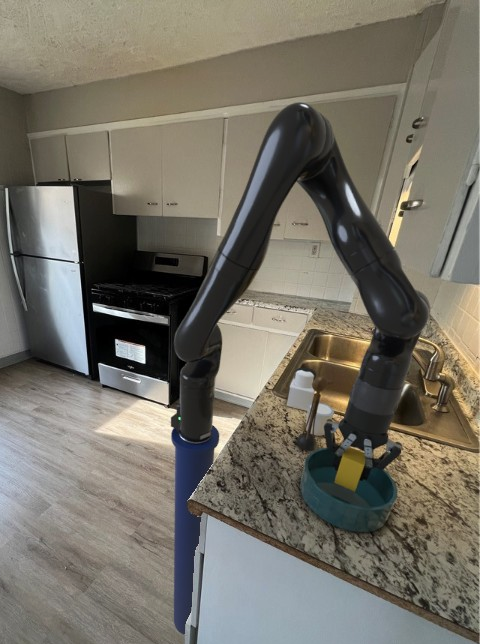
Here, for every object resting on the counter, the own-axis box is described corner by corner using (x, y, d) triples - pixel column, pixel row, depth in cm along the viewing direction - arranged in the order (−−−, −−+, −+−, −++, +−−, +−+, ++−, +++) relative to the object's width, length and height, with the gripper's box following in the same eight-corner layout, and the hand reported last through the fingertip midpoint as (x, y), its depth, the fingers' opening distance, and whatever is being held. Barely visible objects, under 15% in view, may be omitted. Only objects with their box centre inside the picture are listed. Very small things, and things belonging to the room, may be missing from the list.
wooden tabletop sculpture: (311, 437, 85) (327, 370, 76) (322, 447, 81) (340, 379, 72) (292, 440, 83) (306, 373, 75) (303, 452, 79) (319, 382, 71)
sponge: (334, 482, 65) (342, 456, 62) (338, 471, 68) (346, 445, 65) (354, 491, 63) (364, 465, 60) (358, 479, 66) (367, 453, 63)
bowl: (289, 503, 65) (294, 481, 62) (312, 457, 78) (317, 437, 75) (383, 549, 56) (393, 526, 53) (391, 489, 69) (400, 468, 66)
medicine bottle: (290, 396, 105) (296, 363, 100) (312, 401, 102) (319, 368, 97) (285, 406, 99) (292, 372, 94) (309, 412, 96) (317, 377, 91)
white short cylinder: (325, 424, 91) (331, 403, 88) (331, 438, 85) (337, 417, 82) (301, 420, 92) (305, 400, 89) (304, 435, 86) (309, 413, 83)
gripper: (419, 405, 56) (389, 477, 63) (335, 382, 63) (318, 449, 71) (418, 426, 50) (386, 502, 58) (326, 397, 57) (308, 469, 65)
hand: (348, 472), depth 64 cm, fingers closed on sponge, 4 cm apart
